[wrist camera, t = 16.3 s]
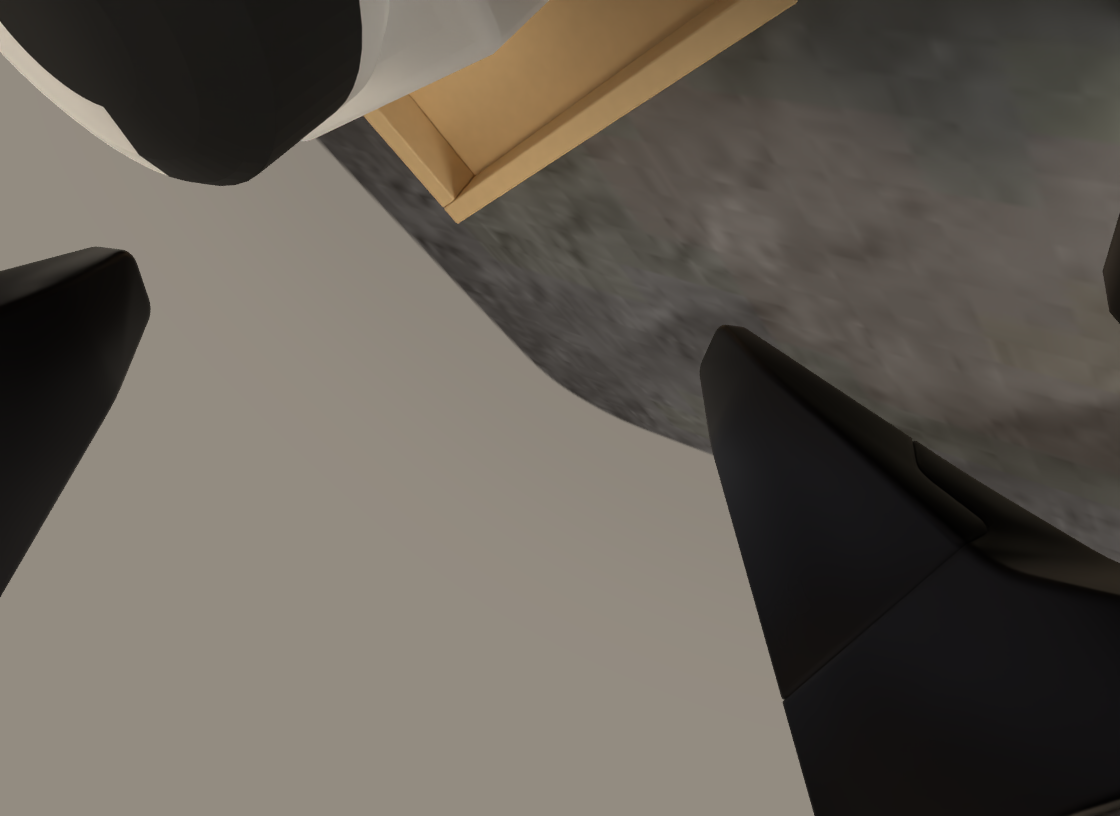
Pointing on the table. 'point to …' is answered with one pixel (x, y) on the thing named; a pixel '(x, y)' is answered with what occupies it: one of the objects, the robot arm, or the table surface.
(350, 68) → the medicine bottle
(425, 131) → the tray
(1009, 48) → the table surface
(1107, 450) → the table surface
